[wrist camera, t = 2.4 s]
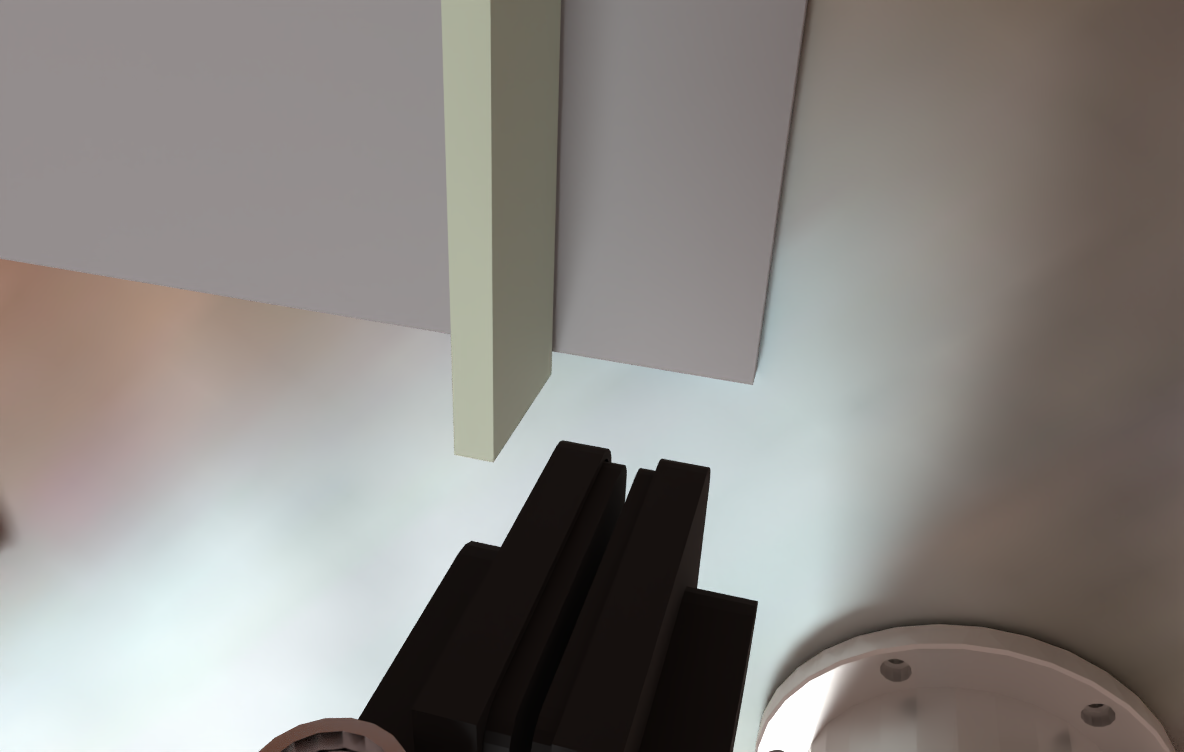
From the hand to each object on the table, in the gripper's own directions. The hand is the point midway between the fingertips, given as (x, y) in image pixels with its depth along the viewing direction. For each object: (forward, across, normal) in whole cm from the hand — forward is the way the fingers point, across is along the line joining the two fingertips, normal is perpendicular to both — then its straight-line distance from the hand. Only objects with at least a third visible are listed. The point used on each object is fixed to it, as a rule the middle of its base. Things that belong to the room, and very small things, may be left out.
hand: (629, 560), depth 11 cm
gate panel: (+15, +6, 0) cm, 16 cm away
